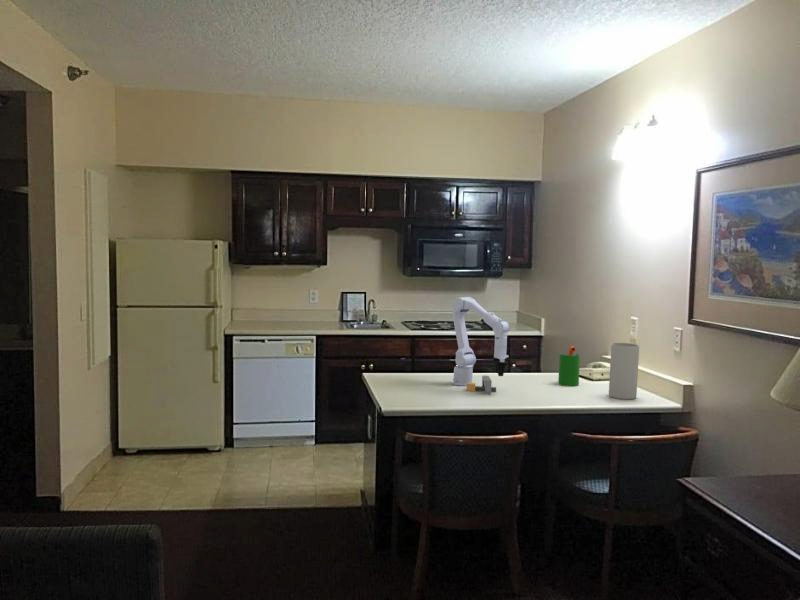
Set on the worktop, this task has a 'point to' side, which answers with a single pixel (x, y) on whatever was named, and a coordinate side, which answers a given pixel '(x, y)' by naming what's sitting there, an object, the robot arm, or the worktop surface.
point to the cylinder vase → (623, 371)
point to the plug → (477, 387)
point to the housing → (486, 384)
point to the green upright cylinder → (569, 368)
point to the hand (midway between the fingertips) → (499, 374)
